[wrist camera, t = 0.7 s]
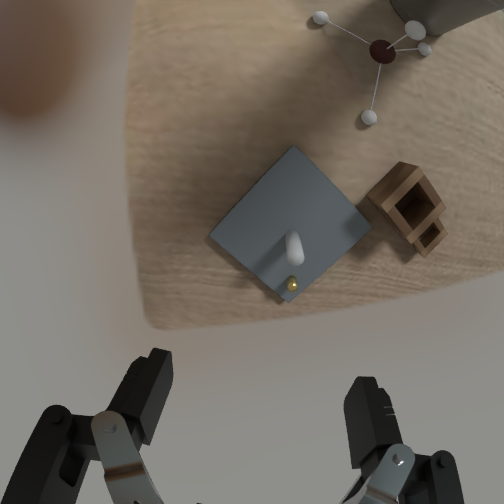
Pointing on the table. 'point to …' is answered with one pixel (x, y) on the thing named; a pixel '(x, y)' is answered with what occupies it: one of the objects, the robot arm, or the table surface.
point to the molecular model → (383, 52)
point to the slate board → (290, 225)
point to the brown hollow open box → (410, 206)
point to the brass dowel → (292, 284)
